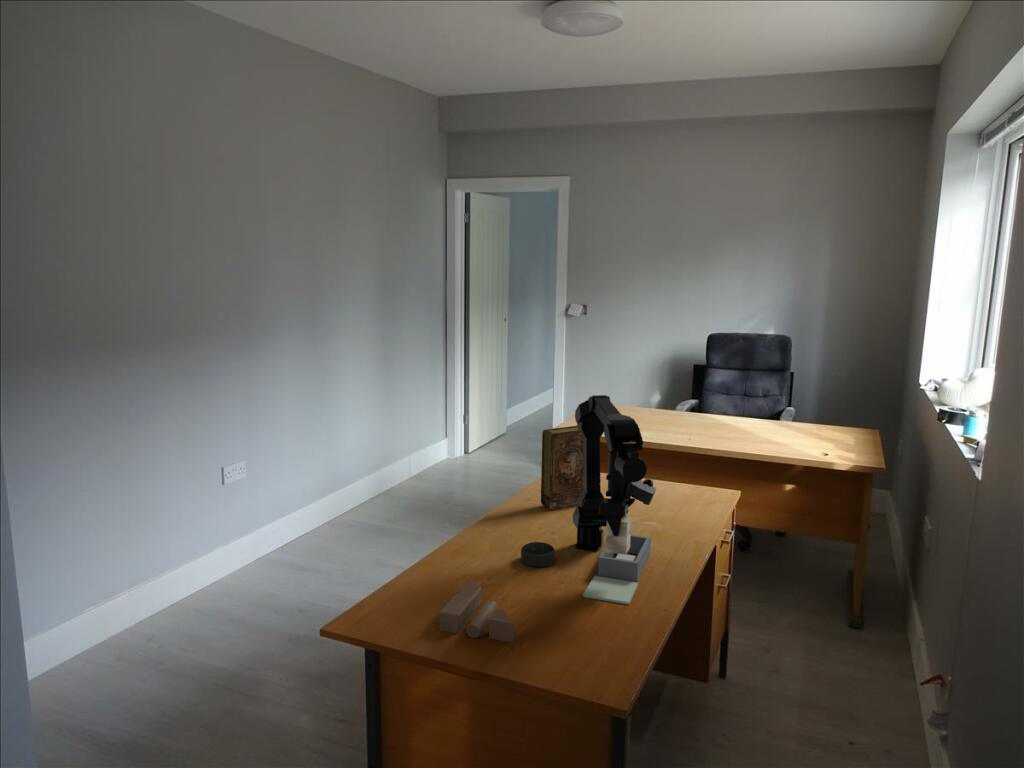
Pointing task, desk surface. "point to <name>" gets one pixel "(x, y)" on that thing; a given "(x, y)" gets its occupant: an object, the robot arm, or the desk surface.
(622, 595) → the sage mat
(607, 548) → the ash block
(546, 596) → the desk surface
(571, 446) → the book
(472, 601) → the wooden block set
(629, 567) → the slotted box
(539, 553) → the smart speaker
